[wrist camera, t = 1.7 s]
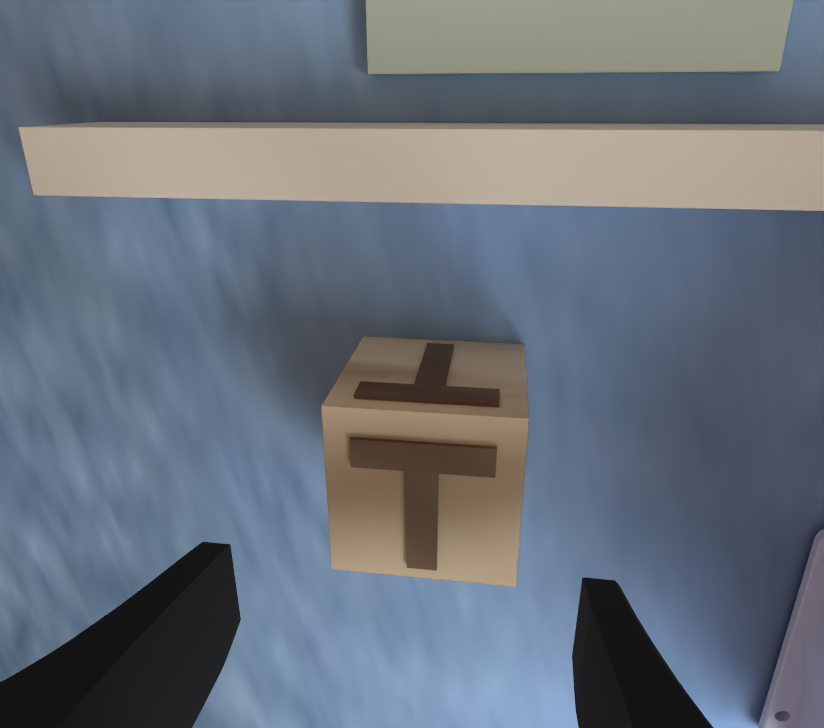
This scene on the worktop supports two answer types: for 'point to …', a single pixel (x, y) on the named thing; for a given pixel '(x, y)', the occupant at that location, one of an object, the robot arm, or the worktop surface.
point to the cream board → (437, 163)
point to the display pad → (575, 36)
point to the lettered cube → (427, 459)
